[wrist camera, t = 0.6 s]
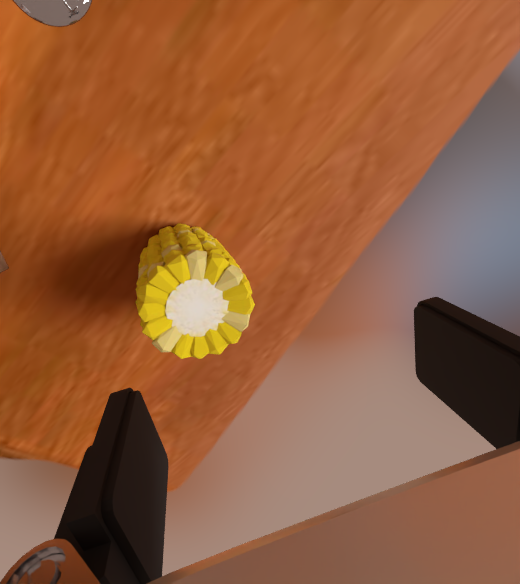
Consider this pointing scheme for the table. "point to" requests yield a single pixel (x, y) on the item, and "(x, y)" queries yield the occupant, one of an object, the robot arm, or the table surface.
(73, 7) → the wine glass
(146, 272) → the food
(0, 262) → the square holder
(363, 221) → the table surface
